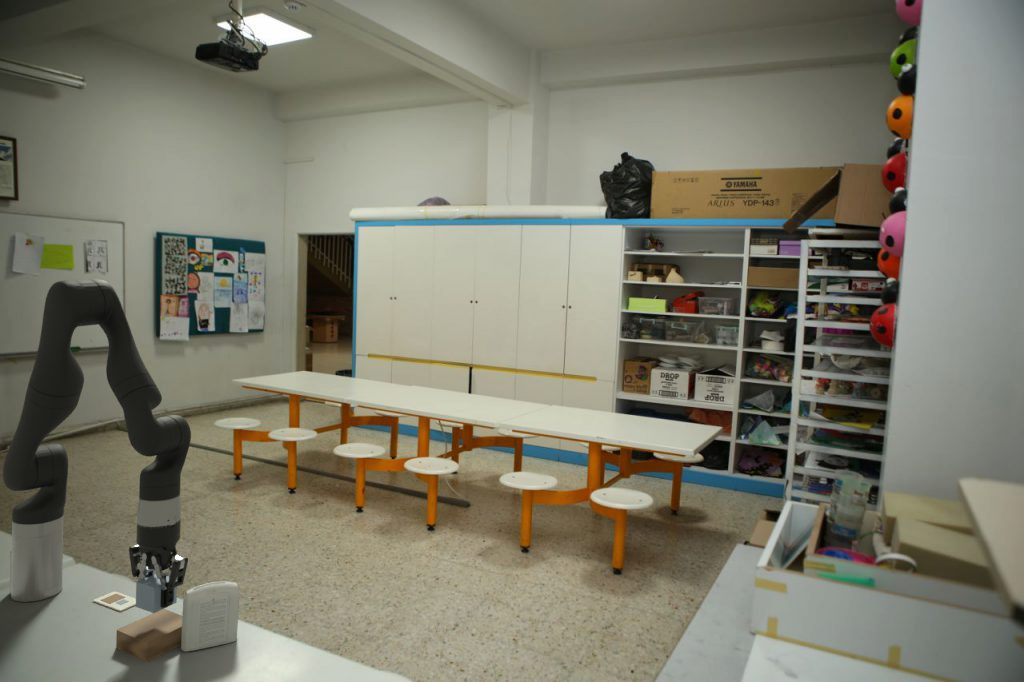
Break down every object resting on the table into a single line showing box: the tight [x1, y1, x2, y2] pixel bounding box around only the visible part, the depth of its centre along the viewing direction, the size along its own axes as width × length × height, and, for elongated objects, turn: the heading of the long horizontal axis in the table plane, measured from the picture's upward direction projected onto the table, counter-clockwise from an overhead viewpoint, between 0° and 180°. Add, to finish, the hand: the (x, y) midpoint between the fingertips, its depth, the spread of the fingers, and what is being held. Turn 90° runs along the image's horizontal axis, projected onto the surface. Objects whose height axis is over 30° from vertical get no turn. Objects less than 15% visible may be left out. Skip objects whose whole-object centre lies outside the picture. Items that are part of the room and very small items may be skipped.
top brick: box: [135, 573, 178, 614], centre depth 126 cm, size 5×5×5 cm
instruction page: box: [92, 590, 136, 613], centre depth 142 cm, size 9×5×1 cm, turn 67°
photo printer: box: [180, 580, 240, 652], centre depth 128 cm, size 10×4×12 cm, turn 123°
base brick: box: [115, 608, 183, 663], centre depth 127 cm, size 9×10×4 cm
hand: (156, 602), depth 126 cm, fingers closed on top brick, 5 cm apart
